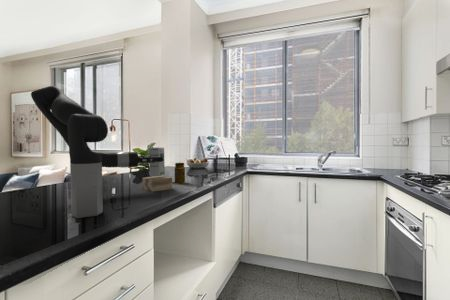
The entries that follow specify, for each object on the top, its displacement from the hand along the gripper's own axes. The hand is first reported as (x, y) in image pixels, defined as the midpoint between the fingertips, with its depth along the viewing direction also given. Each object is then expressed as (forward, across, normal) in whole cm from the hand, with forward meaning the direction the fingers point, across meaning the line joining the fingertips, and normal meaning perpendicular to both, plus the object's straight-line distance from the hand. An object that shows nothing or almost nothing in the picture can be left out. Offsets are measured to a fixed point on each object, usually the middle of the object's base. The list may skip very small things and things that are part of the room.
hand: (160, 158), depth 125 cm
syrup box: (-2, 0, +9) cm, 9 cm away
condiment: (+13, +11, +16) cm, 23 cm away
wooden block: (-2, 0, +16) cm, 16 cm away
